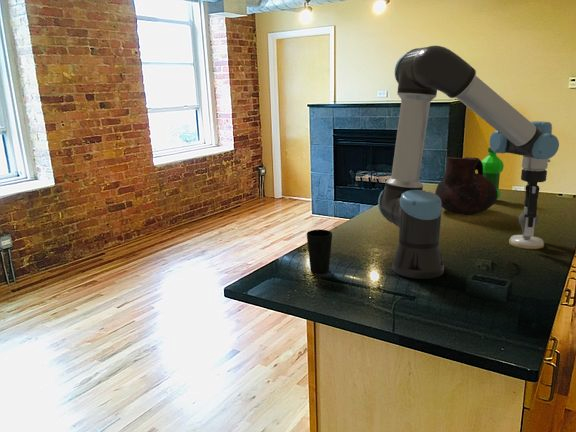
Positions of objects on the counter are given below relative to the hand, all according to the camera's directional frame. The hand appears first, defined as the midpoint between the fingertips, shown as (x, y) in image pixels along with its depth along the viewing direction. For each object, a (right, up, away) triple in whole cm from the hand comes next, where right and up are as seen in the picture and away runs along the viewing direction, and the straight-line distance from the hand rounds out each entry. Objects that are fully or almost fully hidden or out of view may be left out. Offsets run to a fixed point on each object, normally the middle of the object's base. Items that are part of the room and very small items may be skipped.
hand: (527, 230), depth 163 cm
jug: (-5, +6, +44) cm, 45 cm away
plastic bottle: (+13, +12, +63) cm, 66 cm away
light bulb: (0, -3, +1) cm, 3 cm away
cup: (-72, -12, -18) cm, 76 cm away
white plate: (0, -5, +1) cm, 5 cm away
